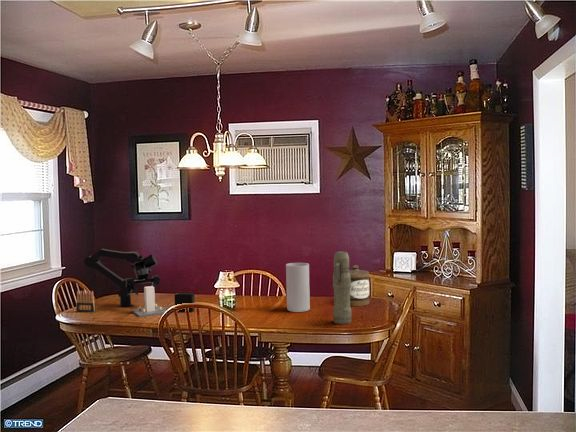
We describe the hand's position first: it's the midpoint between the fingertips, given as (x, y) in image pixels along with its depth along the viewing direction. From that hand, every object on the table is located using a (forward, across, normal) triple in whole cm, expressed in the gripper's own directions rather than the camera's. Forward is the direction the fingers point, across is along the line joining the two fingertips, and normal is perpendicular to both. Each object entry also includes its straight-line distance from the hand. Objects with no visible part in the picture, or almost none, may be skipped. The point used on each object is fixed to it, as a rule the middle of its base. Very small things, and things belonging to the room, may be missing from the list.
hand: (145, 293), depth 324 cm
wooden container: (+42, +107, -29) cm, 119 cm away
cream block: (+11, 0, 0) cm, 11 cm away
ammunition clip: (-4, -30, +17) cm, 35 cm away
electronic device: (+18, +17, -5) cm, 25 cm away
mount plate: (+12, 0, +1) cm, 12 cm away
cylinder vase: (+40, +72, -26) cm, 86 cm away
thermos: (+65, +77, -51) cm, 113 cm away
